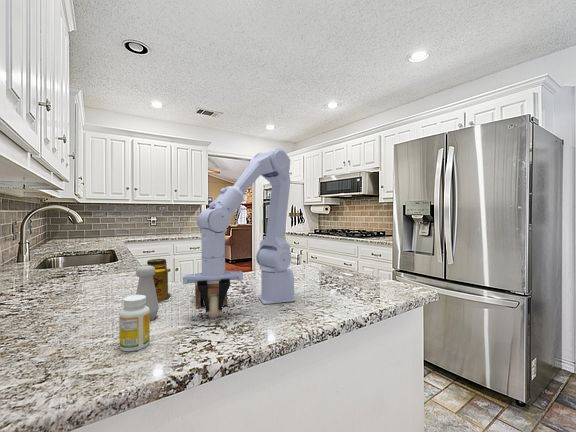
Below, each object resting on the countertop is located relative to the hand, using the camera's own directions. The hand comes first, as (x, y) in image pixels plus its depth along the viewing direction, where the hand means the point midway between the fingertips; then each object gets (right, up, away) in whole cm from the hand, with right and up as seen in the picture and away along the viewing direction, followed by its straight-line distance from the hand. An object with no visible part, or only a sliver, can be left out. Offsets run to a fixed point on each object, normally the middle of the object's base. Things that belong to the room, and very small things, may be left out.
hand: (213, 310), depth 74 cm
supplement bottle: (-12, -2, -16) cm, 20 cm away
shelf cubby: (-4, -1, +13) cm, 14 cm away
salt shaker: (-16, -2, -2) cm, 16 cm away
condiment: (-21, -2, +15) cm, 26 cm away
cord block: (-2, -1, +7) cm, 7 cm away
